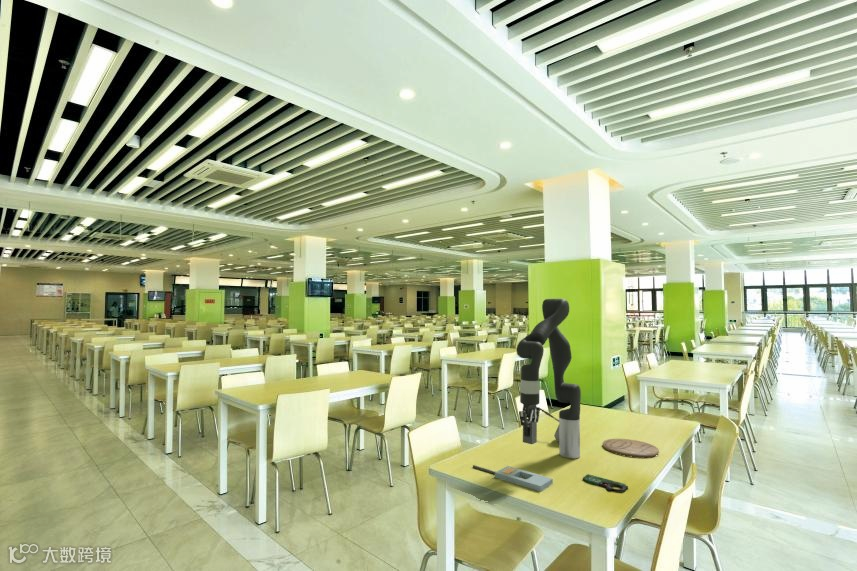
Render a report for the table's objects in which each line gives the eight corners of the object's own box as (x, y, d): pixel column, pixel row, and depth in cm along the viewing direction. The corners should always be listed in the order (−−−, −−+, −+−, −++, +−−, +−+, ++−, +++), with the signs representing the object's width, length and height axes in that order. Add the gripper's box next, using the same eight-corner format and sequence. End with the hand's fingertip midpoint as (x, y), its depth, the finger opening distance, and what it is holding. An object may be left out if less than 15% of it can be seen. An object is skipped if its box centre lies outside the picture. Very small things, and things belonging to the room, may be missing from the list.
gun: (578, 480, 166) (588, 473, 174) (578, 484, 166) (588, 476, 174) (621, 492, 155) (630, 484, 163) (621, 496, 155) (630, 488, 163)
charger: (527, 440, 171) (527, 419, 172) (536, 442, 168) (536, 421, 169) (522, 442, 168) (522, 421, 168) (532, 444, 165) (532, 423, 166)
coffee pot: (581, 442, 219) (581, 412, 220) (571, 447, 211) (571, 416, 212) (543, 433, 234) (543, 406, 235) (533, 438, 226) (533, 409, 227)
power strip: (482, 463, 187) (482, 458, 187) (552, 483, 165) (552, 478, 165) (468, 469, 179) (468, 463, 179) (540, 491, 157) (540, 485, 157)
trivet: (664, 449, 210) (664, 445, 210) (651, 462, 191) (651, 458, 191) (611, 439, 226) (611, 435, 226) (595, 450, 207) (595, 446, 207)
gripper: (529, 388, 177) (529, 430, 176) (512, 392, 167) (512, 436, 165) (546, 390, 173) (546, 433, 171) (530, 394, 162) (529, 440, 160)
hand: (529, 435), depth 168 cm, fingers closed on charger, 4 cm apart
